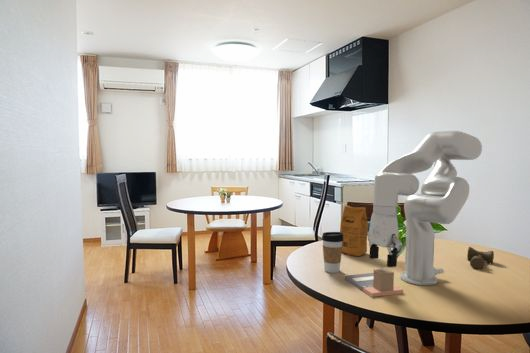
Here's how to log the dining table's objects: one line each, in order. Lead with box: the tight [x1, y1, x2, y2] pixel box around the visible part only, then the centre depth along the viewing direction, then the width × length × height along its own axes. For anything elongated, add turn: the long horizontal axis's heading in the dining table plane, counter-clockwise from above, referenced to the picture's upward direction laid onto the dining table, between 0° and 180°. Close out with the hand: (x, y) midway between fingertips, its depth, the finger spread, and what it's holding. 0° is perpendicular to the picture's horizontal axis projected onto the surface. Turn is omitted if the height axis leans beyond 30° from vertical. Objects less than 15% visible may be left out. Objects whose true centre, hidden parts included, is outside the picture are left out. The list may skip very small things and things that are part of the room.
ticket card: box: [344, 272, 374, 292], centre depth 126 cm, size 12×12×1 cm
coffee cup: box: [321, 231, 344, 274], centre depth 139 cm, size 8×8×15 cm
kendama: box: [466, 246, 495, 271], centre depth 150 cm, size 6×10×20 cm
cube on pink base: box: [362, 267, 404, 298], centre depth 118 cm, size 12×5×7 cm, turn 107°
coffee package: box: [339, 204, 369, 257], centre depth 164 cm, size 10×12×22 cm
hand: (382, 262), depth 117 cm, fingers open, 9 cm apart
